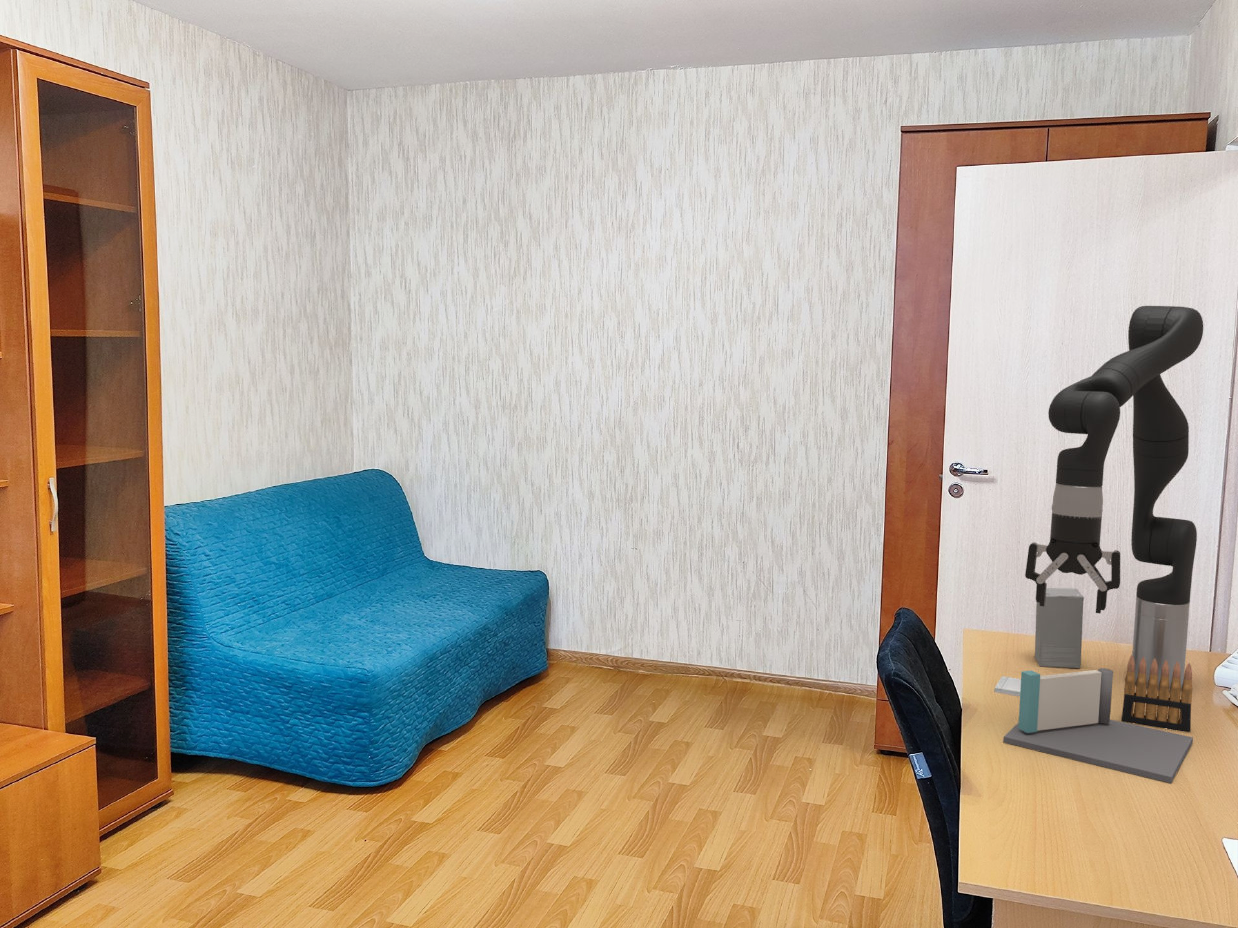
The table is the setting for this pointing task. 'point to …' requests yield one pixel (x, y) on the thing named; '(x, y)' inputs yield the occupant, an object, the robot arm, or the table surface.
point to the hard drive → (1008, 686)
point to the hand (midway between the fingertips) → (1069, 608)
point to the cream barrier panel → (1064, 699)
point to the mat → (1111, 747)
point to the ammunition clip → (1158, 697)
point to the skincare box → (1059, 628)
